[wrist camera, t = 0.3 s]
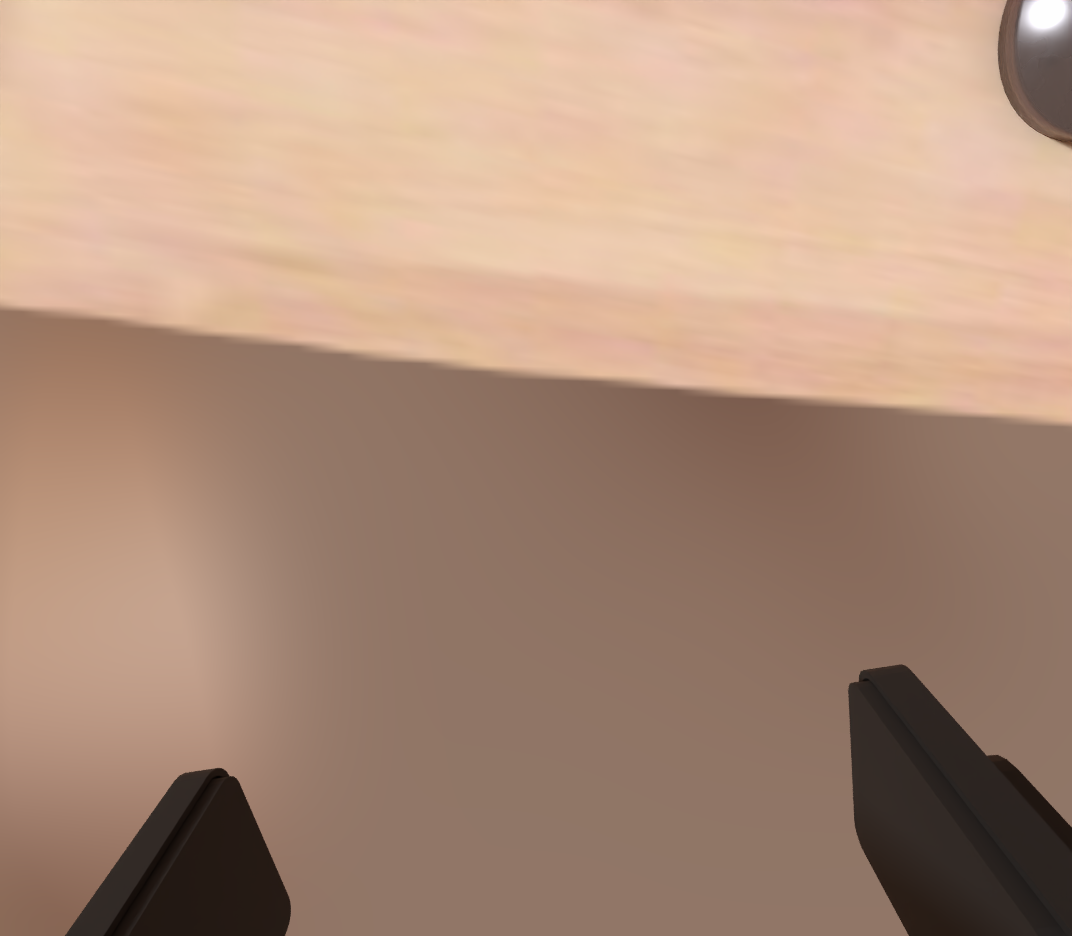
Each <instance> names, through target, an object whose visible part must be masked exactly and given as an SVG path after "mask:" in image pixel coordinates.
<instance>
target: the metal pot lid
mask: <svg viewBox="0 0 1072 936" xmlns="http://www.w3.org/2000/svg"><path fill="white" fill-rule="evenodd" d="M998 62H999V69H1000V75H1001V80H1002V83H1003V86H1004V90H1005V93H1006V95H1007V97H1008V99H1009V101H1010V103H1011V105H1012V106H1013V108H1014V109H1015V110H1016V112H1017V113H1018V115H1019V116H1020V117H1021V118H1022V119H1023V120H1024V121H1025V122H1026V123H1027V124H1028V125H1030V126H1031V127H1032V128H1034V129H1035V130H1036V131H1038V132H1040V133H1042V134H1044V135H1046V136H1048V137H1051V138H1054V139H1057V140H1060V141H1067V142H1072V0H1007V3H1006V6H1005V9H1004V13H1003V16H1002V21H1001V26H1000V31H999V42H998Z"/></svg>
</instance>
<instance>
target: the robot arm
mask: <svg viewBox="0 0 1072 936" xmlns="http://www.w3.org/2000/svg"><path fill="white" fill-rule="evenodd" d="M848 694H849V714H850V735H851V736H850V737H851V758H852V779H853V801H854V821H855V828H856V832H857V835H858V838H859V841H860V844H861V847H862V849H863V851H864V853H865V855H866V857H867V859H868V860H869V862H870V864H871V866H872V868H873V870H874V872H875V873H876V875H877V877H878V879H879V881H880V883H881V885H882V886H883V888H884V890H885V892H886V894H887V896H888V898H889V899H890V901H891V903H892V905H893V907H894V909H895V911H896V913H897V914H898V916H899V918H900V920H901V922H902V924H903V926H904V927H905V929H906V931H907V933H908V935H909V936H1072V827H1071V826H1070V825H1069V824H1068V823H1067V822H1066V821H1065V820H1064V819H1063V818H1062V817H1061V815H1060V814H1059V813H1058V812H1057V811H1056V810H1055V809H1054V808H1053V807H1052V806H1051V805H1050V804H1049V803H1048V801H1047V800H1046V799H1045V798H1044V797H1043V796H1042V795H1041V794H1040V793H1039V792H1038V791H1037V790H1036V788H1035V787H1034V786H1033V785H1032V784H1031V783H1030V782H1029V781H1028V780H1027V779H1026V778H1025V777H1024V776H1023V774H1021V772H1020V771H1019V770H1018V769H1017V768H1016V767H1015V766H1013V765H1012V764H1011V763H1010V762H1009V761H1008V760H1007V759H1005V758H1003V757H1001V756H999V755H990V756H986V755H985V753H984V752H983V751H982V750H981V749H980V748H979V747H978V745H977V744H976V743H975V742H974V741H973V740H972V739H971V738H970V736H969V735H968V734H967V733H966V732H965V731H964V730H963V729H962V727H961V726H960V725H959V724H958V723H957V722H956V721H955V720H954V718H953V717H952V716H951V715H950V714H949V713H948V712H947V711H946V710H945V708H944V707H943V706H942V705H941V704H940V703H939V702H938V701H937V699H936V698H935V697H934V696H933V695H932V694H931V693H930V691H929V690H928V689H927V688H926V687H925V686H924V685H923V683H921V681H920V680H919V679H918V678H917V677H916V676H915V674H914V673H912V671H911V670H910V669H909V668H908V667H906V666H904V665H895V666H889V667H882V668H875V669H869V670H863V671H861V673H860V675H859V682H854V683H850V685H849V690H848ZM290 914H291V905H290V899H289V896H288V894H287V892H286V889H285V887H284V885H283V882H282V880H281V878H280V876H279V873H278V871H277V869H276V866H275V864H274V862H273V859H272V857H271V855H270V853H269V850H268V848H267V846H266V843H265V841H264V839H263V837H262V834H261V832H260V830H259V827H258V825H257V823H256V820H255V818H254V816H253V813H252V811H251V809H250V806H249V804H248V802H247V800H246V797H245V795H244V793H243V790H242V788H241V786H240V783H239V782H238V780H237V779H236V778H235V777H233V776H232V777H231V776H229V775H228V773H227V772H226V771H225V770H224V769H222V768H215V769H209V770H202V771H195V772H189V773H184V774H182V775H180V776H179V777H178V778H177V779H176V780H175V781H174V783H173V784H172V785H171V787H170V788H169V789H168V791H167V792H166V794H165V795H164V797H163V798H162V799H161V801H160V802H159V804H158V805H157V806H156V808H155V809H154V811H153V812H152V813H151V815H150V816H149V818H148V819H147V821H146V822H145V823H144V825H143V826H142V828H141V829H140V830H139V832H138V834H137V835H136V836H135V838H134V839H133V840H132V842H131V843H130V845H129V846H128V847H127V849H126V850H125V852H124V853H123V854H122V856H121V857H120V859H119V860H118V862H117V863H116V864H115V866H114V867H113V869H112V870H111V871H110V873H109V874H108V876H107V877H106V879H105V880H104V881H103V883H102V884H101V886H100V887H99V888H98V890H97V891H96V893H95V894H94V896H93V897H92V898H91V900H90V901H89V903H88V904H87V905H86V907H85V908H84V910H83V911H82V913H81V914H80V915H79V917H78V918H77V920H76V921H75V923H74V924H73V925H72V927H71V928H70V929H69V931H68V932H67V934H66V935H65V936H285V934H286V931H287V928H288V925H289V921H290Z"/></svg>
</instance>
